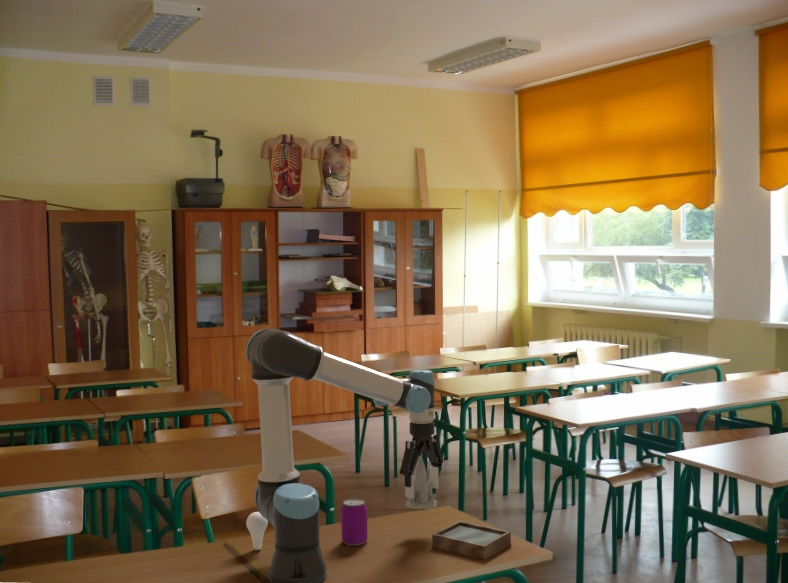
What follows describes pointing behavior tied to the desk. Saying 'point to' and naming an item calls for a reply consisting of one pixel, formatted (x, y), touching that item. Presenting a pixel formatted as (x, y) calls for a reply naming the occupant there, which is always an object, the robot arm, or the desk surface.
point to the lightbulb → (256, 528)
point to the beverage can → (354, 522)
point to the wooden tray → (471, 539)
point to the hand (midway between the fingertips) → (422, 492)
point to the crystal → (421, 489)
